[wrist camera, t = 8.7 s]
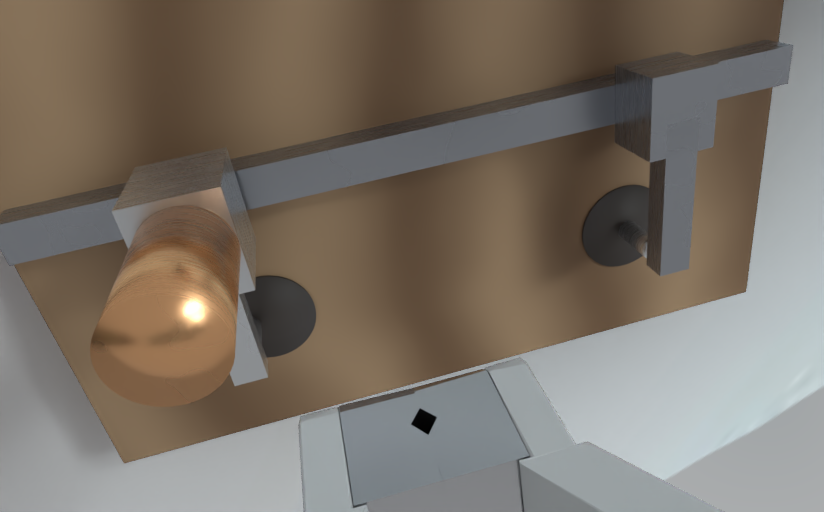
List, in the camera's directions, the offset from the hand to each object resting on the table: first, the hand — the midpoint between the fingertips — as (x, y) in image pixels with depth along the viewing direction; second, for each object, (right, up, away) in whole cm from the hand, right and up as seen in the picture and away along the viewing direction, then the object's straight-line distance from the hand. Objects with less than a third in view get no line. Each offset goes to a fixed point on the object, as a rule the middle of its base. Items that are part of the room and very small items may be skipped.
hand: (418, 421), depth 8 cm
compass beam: (0, +4, +12) cm, 12 cm away
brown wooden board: (0, +5, +13) cm, 14 cm away
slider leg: (-6, +2, +11) cm, 12 cm away
